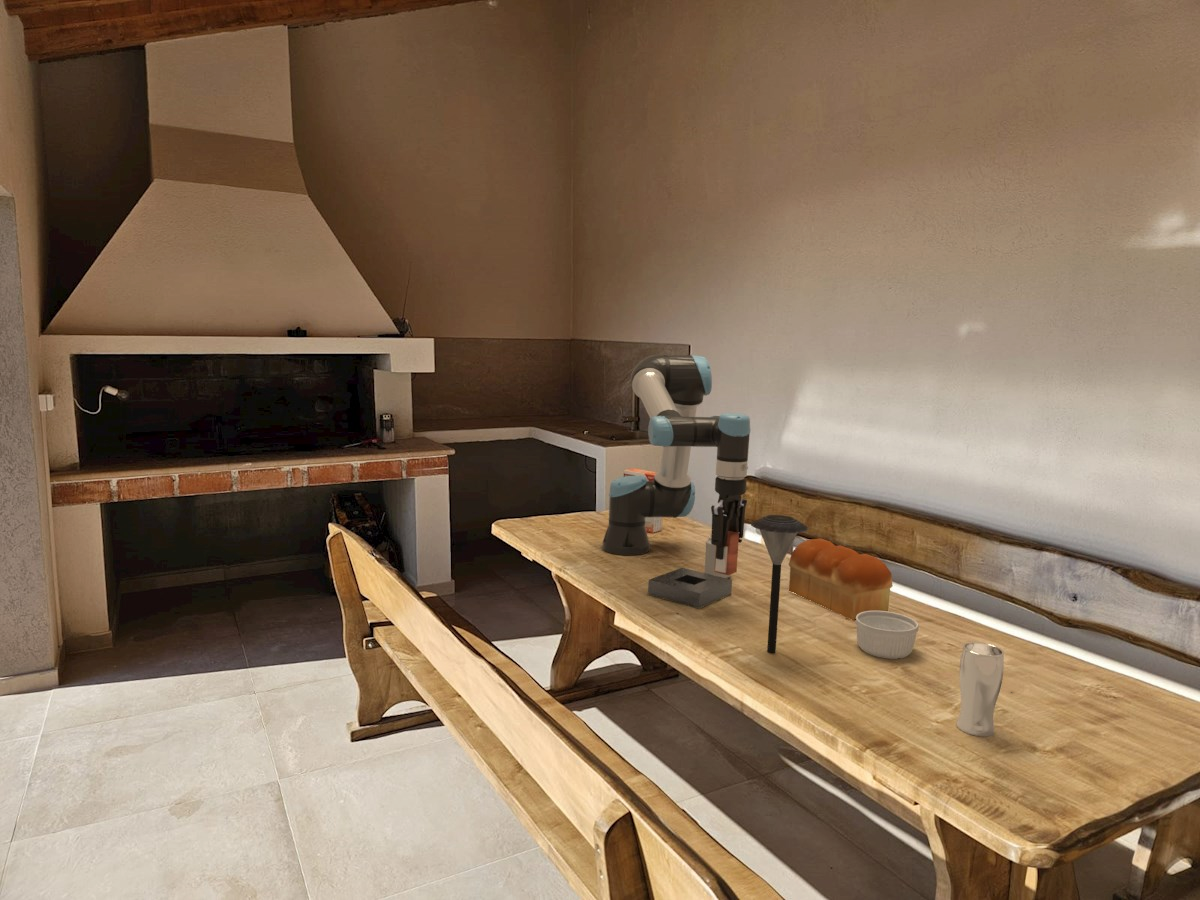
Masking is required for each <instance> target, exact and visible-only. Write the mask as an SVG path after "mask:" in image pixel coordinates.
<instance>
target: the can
mask: <svg viewBox="0 0 1200 900" xmlns="http://www.w3.org/2000/svg"><path fill="white" fill-rule="evenodd" d="M715 552H716V545H713V544H711V534H710V535H708V539H706V541H705V551H704V553H705V554H704V555H705V557H704V572H703V573H706V574H710V575H714V576H719V577H723V578H727V579H729V578H730V577H731V575H725V574H721V573H717V572H714V569H715Z"/></svg>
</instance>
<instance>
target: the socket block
mask: <svg viewBox="0 0 1200 900" xmlns="http://www.w3.org/2000/svg"><path fill="white" fill-rule="evenodd" d="M647 582H648V583H647V585H648V587H647V595H648V594H649V596H653V597H656V598H659V597H660V599H663V598H664V599H663V600H666V599H667V601H670V602H675V603H678V604H681V605H685V606H688V605H689V606H688V607H692V608H695V607H696V608H697V609H701V608H704V607H705V606H706V607H707V606H708V605H710V604H712V602H713V603H715V602H717V601H719V600H721V598H722V599H723V597H724V598H725V597H728V596H730V595H729V594H731V595H732V589H733V588H732V586H733V580H732V579H730V578H723V577H719V576H714V575H710V574H706V573H704V572H702V571H697V570H695V569H694V570H693V569H688V568H685V567H680V568H677V569H674V570H671V571H669V572H666V573H663V574H660V575H657V576H655V577H652V578H649V579H648V581H647ZM703 606H704V607H703Z"/></svg>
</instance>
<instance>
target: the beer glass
mask: <svg viewBox="0 0 1200 900" xmlns="http://www.w3.org/2000/svg"><path fill="white" fill-rule="evenodd" d="M1004 654H1005V651H1004V650H1003V649H1001V647H998V646H997V645H994V644H990V643H986V642H979V641H970V642H969V641H968V642H965V643H963V645H962V651H961V656H960V662H959V670H958V671H959V674H958V675H959V677H958V678H959V679H958V680H959V689H960V690H959V691H960V704H961V705H960V711H959V715H958V717H957V722H956V726H957V728H958V730H960V731H962V732H964V733H966V734H968V735H971V736H975V737H981V738H982V737H983V738H987V737H991V736H993V735H994V734H995V723H994V711H995V707H996V706H997V701H998V697H999V695H1000V691H1001V689H1002V684H1003V677H1004V660H1005V659H1004V658H1005V657H1004V656H1005V655H1004Z"/></svg>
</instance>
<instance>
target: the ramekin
mask: <svg viewBox="0 0 1200 900" xmlns="http://www.w3.org/2000/svg"><path fill="white" fill-rule="evenodd" d="M854 621H855V626H856V641H857V645H858V646H859V648H860V649H861V651H863V652H865V653H866V654H868V655H871V656H872V657H873V656H874V657H878V658H883V659H889V660H890V659H891V660H892V659H893V660H895V659H897V660H898V658H900V659H903V658H907V657H908V656H909V655H911V653H912V651H913V650H914V647H915V642H916V636H917V633H918V632H919V624H918V621H916V620H915V619H913V618H912V617H909V616H907V615H904V614H901V613H897V612H893V611H889V610H888V611H865V612H861V613H859V614H857V616H856V620H854Z"/></svg>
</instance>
